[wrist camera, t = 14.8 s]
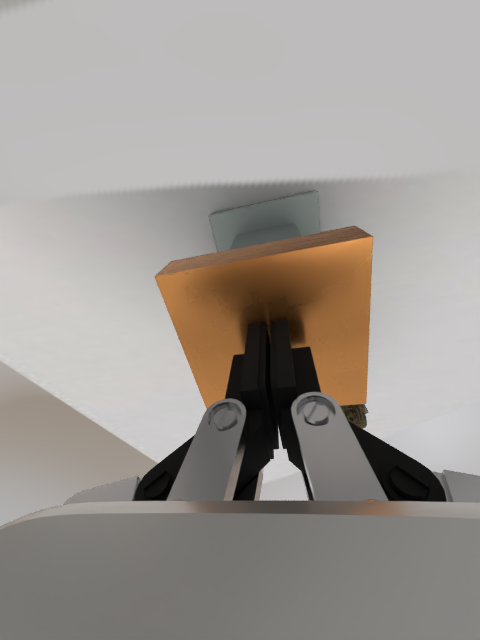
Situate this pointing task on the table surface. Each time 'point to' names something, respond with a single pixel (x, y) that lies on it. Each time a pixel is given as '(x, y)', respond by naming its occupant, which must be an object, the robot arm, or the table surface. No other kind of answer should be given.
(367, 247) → the handle
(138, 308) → the table surface
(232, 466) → the robot arm
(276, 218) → the press stand
